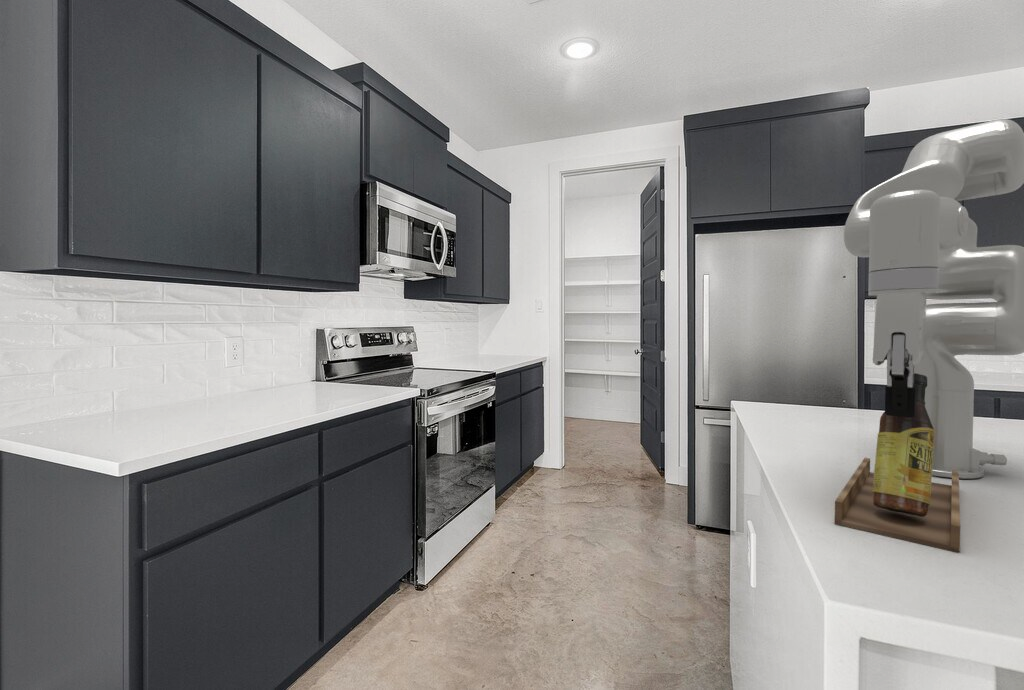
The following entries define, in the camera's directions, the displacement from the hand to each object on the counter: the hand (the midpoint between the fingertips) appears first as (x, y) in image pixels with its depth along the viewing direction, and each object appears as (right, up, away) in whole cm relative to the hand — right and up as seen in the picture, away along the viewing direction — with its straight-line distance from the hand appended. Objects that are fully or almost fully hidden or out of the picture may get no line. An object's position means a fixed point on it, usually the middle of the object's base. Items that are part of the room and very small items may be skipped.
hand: (899, 415), depth 66 cm
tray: (+5, -15, +6) cm, 17 cm away
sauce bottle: (0, -14, 0) cm, 14 cm away
